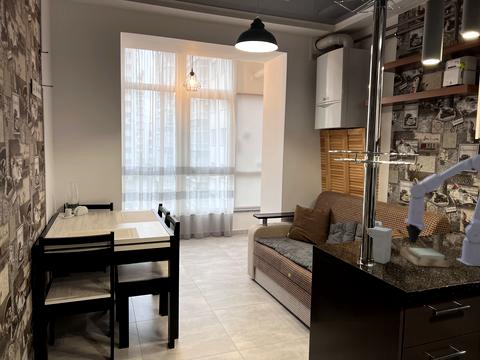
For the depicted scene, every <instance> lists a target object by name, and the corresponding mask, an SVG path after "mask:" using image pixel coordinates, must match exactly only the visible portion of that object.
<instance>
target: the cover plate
mask: <svg viewBox="0 0 480 360" xmlns="http://www.w3.org/2000/svg"><path fill="white" fill-rule="evenodd" d="M408 249H409V250H410V251H412V252H414V253H415V254H417V255H419V256H420V257H421V259H441V260H444V257H445V256H446V255H445V256H444V254H443V253H441V252H439V253H438V251H437V252H436V250H435V249H433V248H431V249H428V247H426V248H425V247H424V248H423V247H408ZM434 250H435V251H434ZM440 253H441V254H440ZM442 254H443V255H442Z"/></svg>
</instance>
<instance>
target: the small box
mask: <svg viewBox="0 0 480 360" xmlns="http://www.w3.org/2000/svg"><path fill="white" fill-rule="evenodd" d="M366 230H367V234H368V235H369V236H370V237H372V238H373V258H374V261H373V262H375V263H379V264H383V265H384V264H386V263H388V262H390V261H391V253H392V239H393V238H392V237H393V229H392V228H386V227H383V226H382V227H376V226H375V227H374V228H367V227H366Z"/></svg>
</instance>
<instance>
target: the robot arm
mask: <svg viewBox="0 0 480 360" xmlns="http://www.w3.org/2000/svg"><path fill="white" fill-rule="evenodd" d="M473 169H474V170H475V171H476V172H478V173H479V174H480V154H476V155H473V156H472V157H469V158H466V159H465V160H464V159H463V160H461V161H459V162H458V163H456V164H455V165H453V166H451V167H449V168H447V170H445V171H443V172H441V173H439V174H438V173H433V174H432V173H430V174H428V177H426V178H424V179H422V180H418V182H417V183H416V184H414V185H412V186H411V187H410V189H409V193H410V196H409V201H408V212H407V214H408V215H407V217H406V218H404V224H408V225H405V228H406V231H407V234H408V239H409V243H410V244H416V243H417V240H418V238H419V236H420V234H421V233H422V231H426V229H427V228H426V226H427V225H425V223H424V222H423V219H424V218H423V217H424V210H425V209H424V208H425V195H426V193H427V194H430V193H431V192H432V191H434V190H436V189H438V188H440V187H442V186H444V181H446V180H448V179H451V178H452V177H454V176H456V175H457V174H459V173H461V172H463V171H465V172H466V171H472V170H473ZM464 233H465V237H464V238H463V241H462V249H461V251H462V252H461V258H460V257H459V258H456V261H459V262H460V263H463V264H464V265H466V266H471V267H480V194H479V195H478V198H477V202H476V204H475V208H474V211H473V214H472V217H471V219H470V222H469V224H468V225H466V227H465V228H464Z"/></svg>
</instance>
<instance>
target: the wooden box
mask: <svg viewBox="0 0 480 360" xmlns="http://www.w3.org/2000/svg"><path fill="white" fill-rule="evenodd" d="M427 249H432V247H427ZM433 250H434V251H436V250H435V249H433ZM436 252H438V251H436ZM438 253H440V254H442V255H444V254H443V253H441V252H438ZM399 254H400V256H402V257H403V258H405V259H406V260H408V261H409V262H411V263H412V264H413V265H415V266H418V267H445V268H447V267H448V268H449V267H450V266H451V260H450V257H448V256H446V255H444V256H445V257H444V260H441V259H421V257H420V256H419V255H417V254H415V253H414V252H412V251H410V250H409V248H407V247H405V246H401V248H400V253H399Z"/></svg>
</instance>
